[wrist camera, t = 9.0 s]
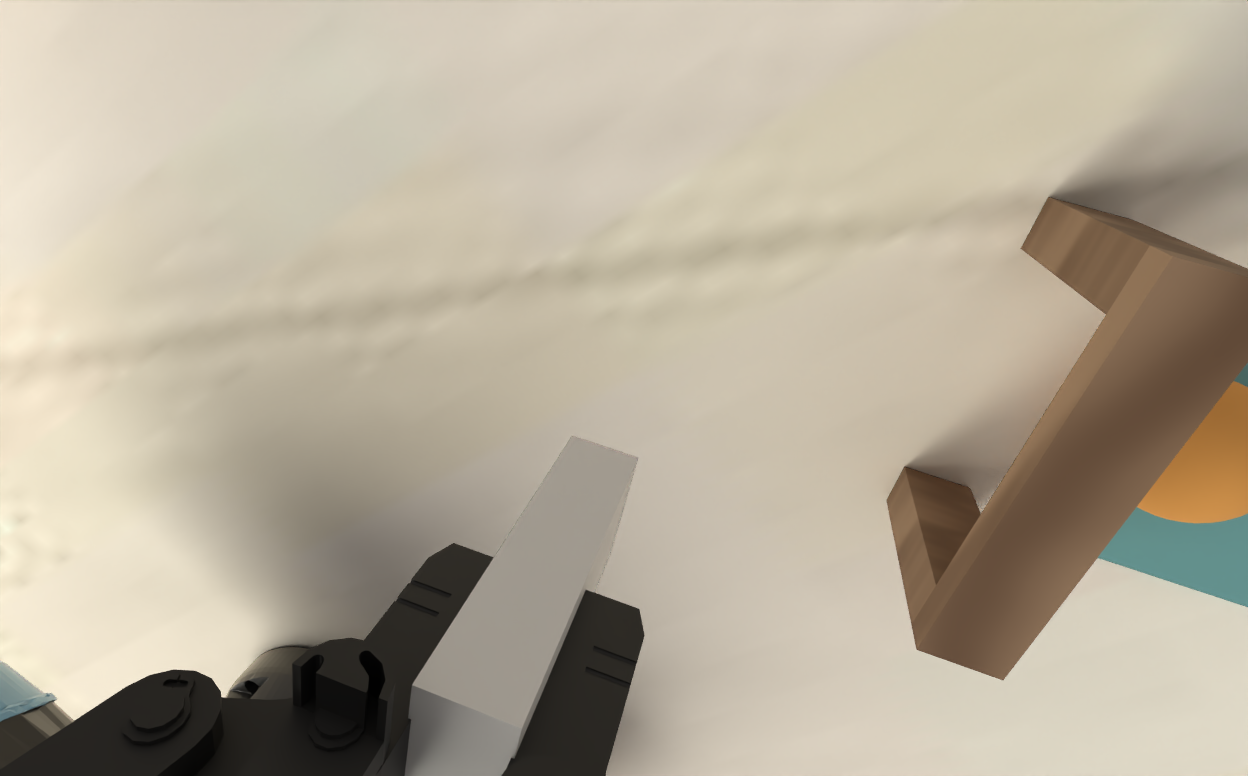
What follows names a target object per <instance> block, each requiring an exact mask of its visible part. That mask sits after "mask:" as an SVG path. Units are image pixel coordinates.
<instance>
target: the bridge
mask: <svg viewBox="0 0 1248 776" xmlns="http://www.w3.org/2000/svg"><path fill="white" fill-rule="evenodd" d="M1021 249H1022V250H1023V251H1025V252H1026V253H1027V254H1029V255H1030V256H1031V257H1032V258H1034V259H1035V260H1036V261H1038V262H1039V263H1040V264H1042V265H1043V266H1044V267H1045V268H1047V269H1048V270H1049V271H1051V272H1052V273H1053V274H1054V275H1056V276H1057V277H1058V278H1060V279H1061V280H1062V281H1063V282H1065V283H1066V284H1067V285H1069V286H1070V287H1071V288H1073V289H1074V290H1075V291H1076V292H1078V293H1079V294H1080V295H1082V296H1083V297H1084V298H1085V299H1087V300H1088V301H1089V302H1091V303H1092V304H1093V305H1095V306H1096V307H1097V308H1098V309H1100V310H1101V311H1102V312H1104V313H1105V314H1106V316H1105V318H1104V319H1103V321H1102V322H1101V324H1100V326H1099V327H1098V329H1097V330H1096V332H1095V334H1094V335H1093V337H1092V338H1091V340H1090V342H1089V343H1088V345H1087V346H1086V348H1085V349H1084V351H1083V353H1082V354H1081V356H1080V357H1079V359H1078V361H1077V362H1076V364H1075V365H1074V367H1073V369H1072V370H1071V372H1070V373H1069V375H1068V377H1067V378H1066V380H1065V381H1064V383H1063V384H1062V386H1061V388H1060V389H1059V391H1058V392H1057V394H1056V396H1055V397H1054V399H1053V400H1052V402H1051V404H1050V405H1049V407H1048V408H1047V410H1046V411H1045V413H1044V415H1043V416H1042V418H1041V419H1040V421H1039V423H1038V424H1037V426H1036V427H1035V429H1034V431H1033V432H1032V434H1031V435H1030V437H1029V438H1028V440H1027V442H1026V443H1025V445H1024V446H1023V448H1022V450H1021V451H1020V453H1019V454H1018V456H1017V458H1016V459H1015V461H1014V462H1013V464H1012V466H1011V467H1010V469H1009V470H1008V472H1007V473H1006V475H1005V477H1004V478H1003V480H1002V481H1001V483H1000V485H999V486H998V488H997V489H996V491H995V493H994V494H993V496H992V497H991V499H990V500H989V502H988V504H987V505H986V507H985V508H984V510H983V512H982V513H980V511H979V509H978V506H977V504H976V501H975V499H974V496H973V494H972V492H971V489H970V488H968V487H965V486H962V485H959V484H956V483H953V482H950V481H947V480H944V479H941V478H938V477H935V476H932V475H928V474H925V473H922V472H919V471H916V470H913V469H910V468H907V467H904V469H903V471H902V472H901V474H900V476H899V478H898V480H897V482H896V484H895V486H894V487H893V489H892V491H891V493H890V495H889V497H888V499H887V505H888V510H889V515H890V520H891V525H892V530H893V535H894V540H895V545H896V550H897V555H898V560H899V565H900V570H901V575H902V579H903V584H904V589H905V594H906V599H907V604H908V609H909V614H910V619H911V624H912V629H913V634H914V639H915V644H916V649H917V650H919V651H922V652H925V653H928V654H930V655H933V656H936V657H939V658H942V659H945V660H947V661H950V662H953V663H956V664H959V665H961V666H964V667H967V668H970V669H973V670H975V671H978V672H981V673H984V674H987V675H990V676H992V677H995V678H998V679H1001V680H1004V678H1005V677H1006V676H1007V675H1008V673H1009V672H1010V671H1011V669H1012V668H1013V667H1014V665H1015V664H1016V663H1017V662H1018V660H1019V659H1020V658H1021V656H1022V655H1023V654H1024V652H1025V651H1026V650H1027V649H1028V647H1029V646H1030V645H1031V643H1032V642H1033V641H1034V640H1035V638H1036V637H1037V636H1038V634H1039V633H1040V632H1041V630H1042V629H1043V628H1044V627H1045V625H1046V624H1047V623H1048V621H1049V620H1050V619H1051V617H1052V616H1053V615H1054V614H1055V612H1056V611H1057V610H1058V608H1059V607H1060V606H1061V604H1062V603H1063V602H1064V601H1065V599H1066V598H1067V597H1068V595H1069V594H1070V593H1071V591H1072V590H1073V589H1074V588H1075V586H1076V585H1077V584H1078V582H1079V581H1080V580H1081V578H1082V577H1083V576H1084V575H1085V573H1086V572H1087V571H1088V569H1089V568H1090V567H1091V565H1092V564H1093V563H1094V562H1095V560H1096V559H1097V558H1098V556H1099V555H1100V554H1101V552H1102V551H1103V550H1104V549H1105V547H1106V546H1107V545H1108V543H1109V542H1110V541H1111V539H1112V538H1113V537H1114V536H1115V534H1116V533H1117V532H1118V530H1119V529H1120V528H1121V527H1122V525H1123V524H1124V523H1125V521H1126V520H1127V519H1128V517H1129V516H1130V515H1131V514H1132V512H1133V511H1134V510H1135V508H1136V507H1137V506H1138V504H1139V503H1140V502H1141V501H1142V499H1143V498H1144V497H1145V495H1146V494H1147V493H1148V491H1149V490H1150V489H1151V488H1152V486H1153V485H1154V484H1155V482H1156V481H1157V480H1158V478H1159V477H1160V476H1161V475H1162V473H1163V472H1164V471H1165V469H1166V468H1167V467H1168V465H1169V464H1170V463H1171V462H1172V460H1173V459H1174V458H1175V456H1176V455H1177V454H1178V452H1179V451H1180V450H1181V449H1182V447H1183V446H1184V445H1185V443H1186V442H1187V441H1188V439H1189V438H1190V437H1191V436H1192V434H1193V433H1194V432H1195V430H1196V429H1197V428H1198V427H1199V425H1200V424H1201V423H1202V421H1203V420H1204V419H1205V417H1206V416H1207V415H1208V414H1209V412H1210V411H1211V410H1212V408H1213V407H1214V406H1215V404H1216V403H1217V402H1218V401H1219V399H1220V398H1221V397H1222V395H1223V394H1224V393H1225V391H1226V390H1227V389H1228V388H1229V386H1230V385H1231V384H1232V382H1233V381H1234V380H1235V378H1236V377H1237V376H1238V375H1239V373H1240V372H1241V371H1242V369H1243V368H1244V367H1245V365H1246V364H1247V363H1248V269H1247V268H1244V267H1242V266H1240V265H1237V264H1235V263H1232V262H1230V261H1228V260H1225V259H1223V258H1221V257H1218V256H1216V255H1214V254H1211V253H1209V252H1207V251H1204V250H1202V249H1200V248H1197V247H1195V246H1193V245H1190V244H1188V243H1186V242H1183V241H1181V240H1179V239H1176V238H1174V237H1171V236H1169V235H1167V234H1164V233H1162V232H1160V231H1157V230H1155V229H1153V228H1150V227H1148V226H1146V225H1143V224H1141V223H1139V222H1136V221H1134V220H1131V219H1128V218H1124V217H1120V216H1117V215H1113V214H1109V213H1106V212H1102V211H1098V210H1095V209H1091V208H1087V207H1084V206H1080V205H1076V204H1072V203H1069V202H1065V201H1061V200H1058V199H1054V198H1050V197H1048V199H1047V201H1046V203H1045V205H1044V206H1043V208H1042V210H1041V212H1040V214H1039V216H1038V218H1037V220H1036V221H1035V223H1034V225H1033V227H1032V229H1031V231H1030V233H1029V235H1028V236H1027V238H1026V240H1025V242H1024V244H1023V246H1022V248H1021Z"/></svg>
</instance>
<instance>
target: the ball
mask: <svg viewBox="0 0 1248 776" xmlns="http://www.w3.org/2000/svg"><path fill="white" fill-rule="evenodd" d="M1137 507H1138V508H1140V509H1141V510H1144V511H1146V512H1148V513H1150V514H1153V515H1155V516H1158V517H1161V518H1164V519H1168V520H1173V521H1178V522H1185V523H1214V522H1221V521H1226V520H1230V519H1234V518H1238V517H1241V516H1243V515H1245V514H1248V387H1246V386H1244V385H1242V384H1240V383H1238V382H1235V381H1233V382H1232V384H1231V385H1230V386H1229V388H1228V389H1227V390H1226V391H1225V393H1224V394H1223V395H1222V397H1221V398H1220V399H1219V401H1218V402H1217V403H1216V404H1215V406H1214V407H1213V408H1212V410H1211V411H1210V412H1209V414H1208V415H1207V416H1206V417H1205V419H1204V420H1203V421H1202V423H1201V424H1200V425H1199V427H1198V428H1197V429H1196V430H1195V432H1194V433H1193V434H1192V436H1191V437H1190V438H1189V439H1188V441H1187V442H1186V443H1185V445H1184V446H1183V447H1182V449H1181V450H1180V451H1179V452H1178V454H1177V455H1176V456H1175V458H1174V459H1173V460H1172V462H1171V463H1170V464H1169V465H1168V467H1167V468H1166V469H1165V471H1164V472H1163V473H1162V475H1161V476H1160V477H1159V478H1158V480H1157V481H1156V482H1155V484H1154V485H1153V486H1152V488H1151V489H1150V490H1149V491H1148V493H1147V494H1146V495H1145V497H1144V498H1143V499H1142V501H1141V502H1140V503H1139V504H1138V506H1137Z"/></svg>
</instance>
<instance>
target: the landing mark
mask: <svg viewBox="0 0 1248 776" xmlns="http://www.w3.org/2000/svg"><path fill="white" fill-rule="evenodd" d="M1234 381H1235V382H1238V383H1240V384H1242V385H1244V386H1246V387H1248V363H1247V364H1246V365H1245V367H1244V368H1243V369H1242V371H1241V372H1240V373H1239V375H1238V376H1237V377H1236V378H1235V380H1234ZM1098 558H1100V559H1103V560H1106V561H1109V562H1112V563H1115V564H1119V565H1122V566H1125V567H1128V568H1131V569H1134V570H1137V571H1140V572H1143V573H1146V574H1149V575H1152V576H1155V577H1158V578H1161V579H1164V580H1167V581H1170V582H1173V583H1176V584H1179V585H1182V586H1185V587H1188V588H1191V589H1194V590H1197V591H1200V592H1203V593H1206V594H1209V595H1213V596H1216V597H1219V598H1222V599H1225V600H1228V601H1231V602H1234V603H1237V604H1240V605H1243V606H1246V607H1248V514H1245V515H1243V516H1241V517H1238V518H1234V519H1230V520H1226V521H1221V522H1214V523H1185V522H1178V521H1173V520H1168V519H1164V518H1161V517H1158V516H1155V515H1153V514H1150V513H1148V512H1146V511H1144V510H1141V509H1140V508H1138V507H1136V508H1135V510H1134V511H1133V512H1132V514H1131V515H1130V516H1129V517H1128V519H1127V520H1126V521H1125V523H1124V524H1123V525H1122V527H1121V528H1120V529H1119V530H1118V532H1117V533H1116V534H1115V536H1114V537H1113V538H1112V539H1111V541H1110V542H1109V543H1108V545H1107V546H1106V547H1105V549H1104V550H1103V551H1102V552H1101V554H1100V555H1099V556H1098Z"/></svg>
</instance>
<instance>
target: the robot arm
mask: <svg viewBox="0 0 1248 776" xmlns="http://www.w3.org/2000/svg"><path fill="white" fill-rule="evenodd" d="M637 461H638V458H637V457H634V456H631V455H628V454H625V453H623V452H620V451H617V450H614V449H611V448H608V447H605V446H602V445H599V444H596V443H593V442H590V441H587V440H584V439H581V438H578V437H575V436H572V437H571V438H570V440H569V441H568V443H567V445H566V446H565V448H564V449H563V451H562V452H561V454H560V455H559V457H558V459H557V460H556V462H555V463H554V465H553V466H552V468H551V469H550V471H549V473H548V474H547V476H546V477H545V479H544V480H543V482H542V483H541V485H540V487H539V488H538V490H537V491H536V493H535V494H534V496H533V497H532V499H531V501H530V502H529V504H528V505H527V507H526V508H525V510H524V511H523V513H522V515H521V516H520V518H519V519H518V521H517V522H516V524H515V525H514V527H513V529H512V530H511V532H510V533H509V535H508V536H507V538H506V539H505V541H504V543H503V544H502V546H501V547H500V549H499V550H498V552H497V553H496V555H495V557H494V558H493V557H490V556H488V555H485V554H482V553H479V552H477V551H474V550H471V549H469V548H466V547H463V546H460V545H458V544H455V543H453V544H451V545H449V546H448V547H446V548H444V549H442V550H441V551H439V552H437V553H436V554H434V555H432V556H431V557H429V558H428V559H427V560H426V562H425V563H424V564H423V565H422V567H421V568H420V569H419V571H418V572H417V573H416V574H415V576H414V577H413V578H412V581H411V583H410V584H409V583H408V585H407V586H406V587H405V589H404V590H403V591H402V592H401V594H400V595H399V596H398V599H397V601H396V602H395V601H394V603H393V604H392V605H391V607H390V608H389V609H388V610H387V612H386V613H385V614H384V616H383V617H382V618H381V619H380V621H379V622H378V623H377V624H376V626H375V627H374V628H373V630H372V631H371V632H370V633H369V635H368V636H367V637H366V639H365V640H359V639H354V638H346V639H338V640H330V641H327V642H325V643H322V644H320V645H318V646H315V647H313V648H311V649H307V648H299V647H285V648H277V649H273V650H270V651H268V652H266V653H264V654H262V655H260V656H259V657H258V658H257V659H256V660H255V661H254V662H253V663H252V664H251V665H250V666H249V667H248V668H247V669H246V670H245V671H244V673H243V674H242V675H241V676H240V677H239V678H238V679H237V680H236V681H235V683H234V684H233V685H232V687H231V688H230V690H229V692H228V694H227V696H226V698H222V697H221V691H220V690H219V689H218V687H217V686H216V684H215V683H214V681H213V680H212V678H209V677H207V676H205V675H203V674H201V673H199V672H197V671H188V670H170V671H166V672H161V673H157V674H153V675H149V676H147V677H145V678H143V679H141V680H139V681H137V682H135V683H133V684H131V685H129V686H127V687H125V688H124V689H122V690H121V691H119V692H118V693H116V694H115V695H113V696H112V697H110V698H109V699H107V700H105V701H104V702H102V703H101V704H99V705H98V706H96V707H95V708H93V709H92V710H90V711H89V712H87V713H86V714H84V715H83V716H81V717H80V718H78V719H76V720H75V721H74V720H73V719H72V718H71V717H70V716H68V715H67V714H66V713H65V712H64V711H63V710H62V709H61V708H60V707H58V706H57V705H56V704H55V703H54V701H55V700H57V698H56V697H55V696H54V695H53V694H52V693H43V692H42V691H41V690H39V689H38V688H37V687H36V686H34V685H33V684H32V683H30V682H29V681H28V680H26V679H25V678H24V677H23V676H21V675H20V674H19V673H17V672H16V671H15V670H14V669H12V668H11V667H10V666H8V665H7V664H6V663H4V662H2V661H0V776H606V770H607V766H608V763H609V759H610V756H611V752H612V748H613V745H614V741H615V738H616V734H617V731H618V727H619V724H620V720H621V717H622V713H623V710H624V706H625V702H626V699H627V695H628V692H629V688H630V685H631V681H632V678H633V674H634V671H635V666H636V663H637V660H638V656H639V653H640V649H641V646H642V642H643V639H644V631H643V626H642V621H641V615H640V610H639V609H637V608H635V607H632V606H629V605H626V604H624V603H621V602H618V601H616V600H613V599H610V598H607V597H605V596H602V595H599V594H596V593H595V590H596V588H597V585H598V583H599V580H600V578H601V575H602V573H603V570H604V568H605V565H606V563H607V560H608V558H609V556H610V553H611V550H612V546H613V543H614V540H615V536H616V533H617V529H618V526H619V522H620V519H621V516H622V512H623V509H624V505H625V502H626V498H627V495H628V492H629V488H630V485H631V481H632V478H633V475H634V471H635V468H636V464H637Z"/></svg>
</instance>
